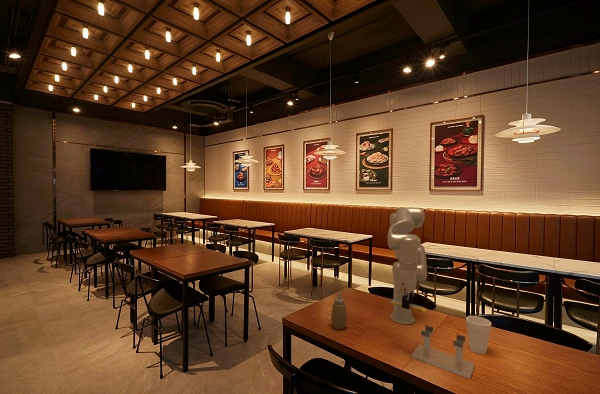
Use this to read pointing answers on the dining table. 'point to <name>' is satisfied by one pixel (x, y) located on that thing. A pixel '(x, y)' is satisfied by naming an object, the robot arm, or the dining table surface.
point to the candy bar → (412, 306)
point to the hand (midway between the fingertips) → (407, 306)
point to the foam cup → (478, 333)
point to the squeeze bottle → (339, 313)
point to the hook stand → (444, 355)
